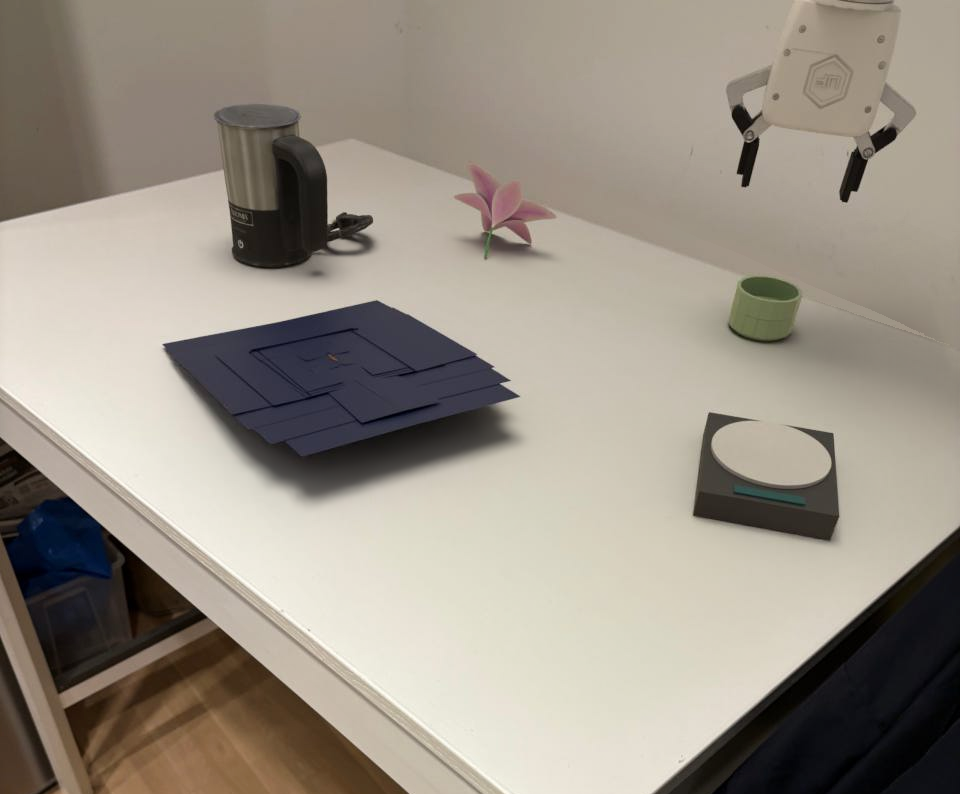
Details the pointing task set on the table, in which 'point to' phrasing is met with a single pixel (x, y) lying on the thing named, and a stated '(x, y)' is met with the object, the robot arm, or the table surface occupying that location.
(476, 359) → the papers
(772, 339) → the bowl
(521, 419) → the table surface
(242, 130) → the milk frother
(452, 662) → the table surface
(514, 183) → the lily
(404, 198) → the table surface
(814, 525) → the scale
